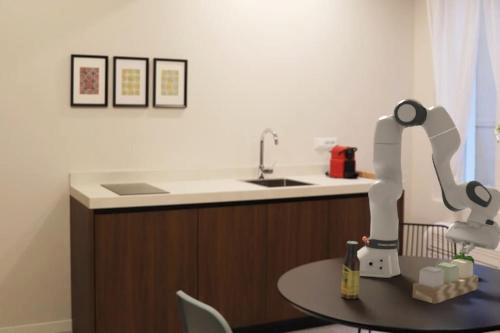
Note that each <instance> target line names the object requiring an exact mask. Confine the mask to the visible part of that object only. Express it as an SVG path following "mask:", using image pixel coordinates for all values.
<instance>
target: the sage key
mask: <svg viewBox="0 0 500 333" xmlns="http://www.w3.org/2000/svg"><path fill="white" fill-rule="evenodd" d="M434 268H439V269H443V271H444V282H446V283H453V282H456V281H458V280H459V267H458V265H455V264H450V262H441V263H437V264H436V265H435V267H434Z"/></svg>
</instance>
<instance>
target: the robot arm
mask: <svg viewBox="0 0 500 333" xmlns="http://www.w3.org/2000/svg"><path fill="white" fill-rule="evenodd" d="M417 126H418V127H419V126H420V127H421V128H423V129H424V131H425V133H426V135H427V137H428V139H429V142H430V146H431V149H432V150H431V151H432V153H431V160H432V164H433V168H434V170H435V174H436V176H437V177H436V178H437V180H438V183H439V186H440V190H441V198H442V203H443V204H444V206H445V208H447V209H448V210H449V211H451V212H455V213H457V212H460V211H462V210H465V209H470V213H469V215H468V217H467V219H466V221H460V220H455V221H452V222H451V224H450V225H449V227H448V228H447V229H446V231H445V232H444V237H445V239H446V241H447V242H450V243H453V244H454V243H455V244H459V245H460V249H459V252H460V253H463V254H464V255H466V256H469V254H470V252H471V251H473V250H474V249H475V248H480V249H487V250H492V251H495V250H496V249H497V248H498V247H499V244H500V226H499V224H498V222H497V221H496V220H494V219H495V217H496V216H497V215H498V213H499V211H500V191H499V190H498V189H497V188H495V187H492V186H485V185H483V184H482V183H481V182H480V181H477V180H470V181H467V182H464V183H461V184H457V183H456V181H455V178H454V175H453V172H452V168H451V160H452V158H453V156H454V155H455V154H456V153H457V151H458V150H459V149H460V146H461V143H462V139H461V136H460V132H459V130H458V128H457V126H456V124H455V122H454V120H453V118H452V117H451V115H450V113H449V112H448V111H447V109H446V108H445V107H444V106H441V105H433V106H429V107H424V106H423V104H422V103H421V102H420V101H418V100H417V99H414V98H406V99H403V100H401V101H399V102H398V103H397V104H396V105H395V107H394V109H393V113H392V114H391V115H383V116H381V117H379V118H378V119H377V120H376V122H375V128H374V132H373V147H372V148H373V150H372V164H373V168H374V177H375V180H374V181H373V182H372V183H371V185H370V186H369V187H368V193H367V195H368V200H369V201H368V202H369V211H370V236H368V237H367V236H363V237H362V241H363V242H364V246H363V247H361V248H360V249H359V250H358V249H357V253H358V254H357V256H358V258H359V260H360V277H370V278H371V277H373V278H387V279H389V278H392V277H394V276H398V275H400V274H401V270H400V265H399V264H400V263H399V256H398V253H399V250H400V238H399V216H398V215H399V213H398V200H399V199H400V198H401V197H402V195H403V188H404V187H403V173H402V139H403V138H402V135H403V131H404V130H405V129H406V128H412V127H417ZM467 246H468V247H467Z"/></svg>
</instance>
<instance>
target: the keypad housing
mask: <svg viewBox="0 0 500 333" xmlns="http://www.w3.org/2000/svg"><path fill="white" fill-rule="evenodd" d="M478 285H479V276H478V275H475V274H473V276H472V277H469V278H466V279H463V278H459V280H458V281H456V282H453V283H446V282H444V284H443V286H440V287H437V288H431V287H427V286H424V285H420V284H419V281H418V282H415V283H413V284H412V298H413V299H415V300H420V301H422V302H423V301H424V302H426V303H429V304H430V303H431V304H434V305H436V304H439V303H442V302H444V301H447V300H450V299H453V298H456V297H459V296H462V295H464V294H468V293H470V292H473V291H476V290H478V289H479V288H478Z"/></svg>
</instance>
